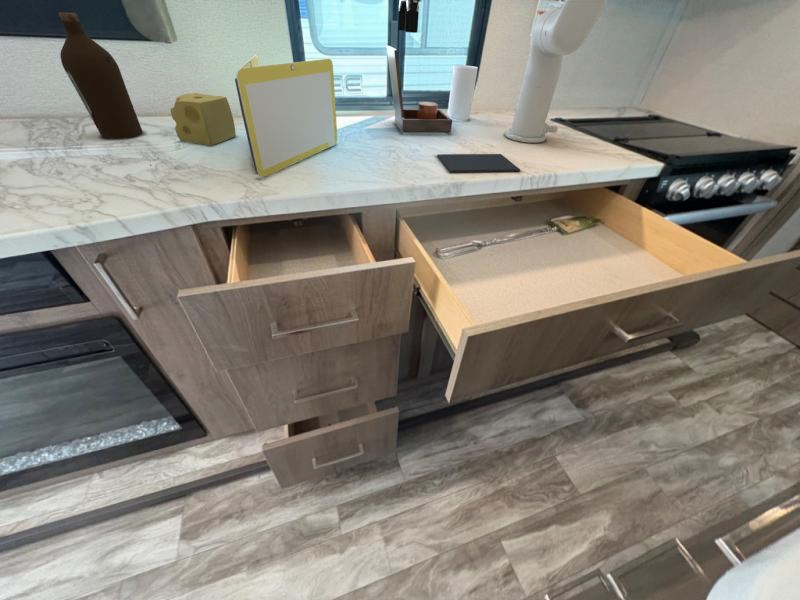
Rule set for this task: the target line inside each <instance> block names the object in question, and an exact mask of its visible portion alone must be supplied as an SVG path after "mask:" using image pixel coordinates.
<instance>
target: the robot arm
mask: <svg viewBox="0 0 800 600" xmlns="http://www.w3.org/2000/svg"><path fill="white" fill-rule="evenodd" d="M398 1H399V4H398V11H397V30H398V31H403V32H405V33H414V34H417V33H418V29H419V14H420V3H421V2H422V1H423V0H398ZM607 2H609V1H608V0H564V3H563V6H555V7H552V8H549V9H547V10H545V11H544V12H543V13H542V14H541V15H540V16H539V17H538V19H537V20H536V22H535V24H534V25H533V28H532V31H531V36H530V43H529V50H528V58H527V62H526V67H525V72H524V76H523V80H522V83H521V88H520V92H519V95H518V100H517V105H516V109H515V111H514V117H513V121H512V126H511V128H510V129H507V130H505V133H504V135H505V137H506V138H508V139H510V140H513V141H516V142H520V143H521V142H522V143H529V144H530V143H531V144H536V143H543V142H545V141H546V139H547V135H546V134H548V133H557V132H558V130H559V129H558V128H559V127H558V125H550V124H548V123H546V121H547V117H548V114H549V111H550V108H551V105H552V101H553V97H554V94H555V91H556V87H557V83H558V82H559V78H560V74H561V70H562V65H563V57H564V56H569V55H570V54H572V53H575V52H576V51H577V50H578V49H580V47H581V46H582V45H583V44H584V43H585V41H586V39H587V38H588V36H589V35H590V34H591V31H592V29H593V28H594V26H595V24H596V23H597V20H598V18H599V17H600V15H601V13H602V11H603V10H604V8H605V6H606V4H607Z"/></svg>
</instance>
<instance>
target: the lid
mask: <svg viewBox="0 0 800 600" xmlns="http://www.w3.org/2000/svg"><path fill="white" fill-rule="evenodd" d="M386 53H387V62H388V69H389V76H390V78H389V79H390V87H391V95H392V102H393V108H394V111H395V110H396V111H397V112H398V114H399V115H400V116H401V118H404V111H403V109H404V102H403V94H402V93H403V92H402V83H401V74H400V64H399V56H398V55H399V54H398V49H397V48H395V47H392V46H391V45H386Z"/></svg>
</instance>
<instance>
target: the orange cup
mask: <svg viewBox="0 0 800 600" xmlns="http://www.w3.org/2000/svg"><path fill="white" fill-rule="evenodd" d="M438 107H439V104H438V103H436V102H433V101H419V102H418V103H417V109H418V116H417V119H436V118H437V110H439V109H438Z"/></svg>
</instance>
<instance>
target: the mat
mask: <svg viewBox="0 0 800 600" xmlns="http://www.w3.org/2000/svg"><path fill="white" fill-rule="evenodd" d="M437 158H438V159H439V161H440V162H441V163H442V164H443V166H444V167H445V168H446V169H447V170H448V172H449V173H450V174H463V173H464V174H465V173H466V174H467V173H470V174H471V173H520V172H521V168H519V167H518V166H516V164H514V163H513V162H512V161H511V160H509V159H508V158H506V156H504V155H503V154H502V153H450V154H449V153H445V154H443V153H442V154H441V153H437Z"/></svg>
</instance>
